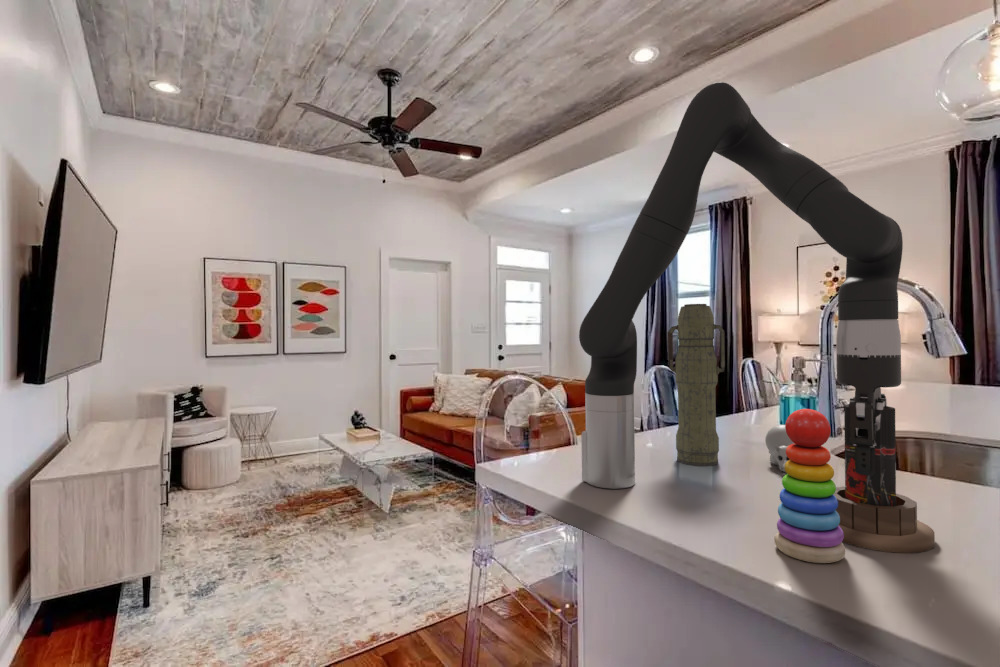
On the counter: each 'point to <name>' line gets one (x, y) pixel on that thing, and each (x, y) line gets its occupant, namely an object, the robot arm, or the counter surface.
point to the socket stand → (883, 525)
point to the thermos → (696, 384)
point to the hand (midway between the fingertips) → (868, 469)
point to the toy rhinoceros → (778, 445)
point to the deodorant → (884, 480)
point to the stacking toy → (809, 493)
